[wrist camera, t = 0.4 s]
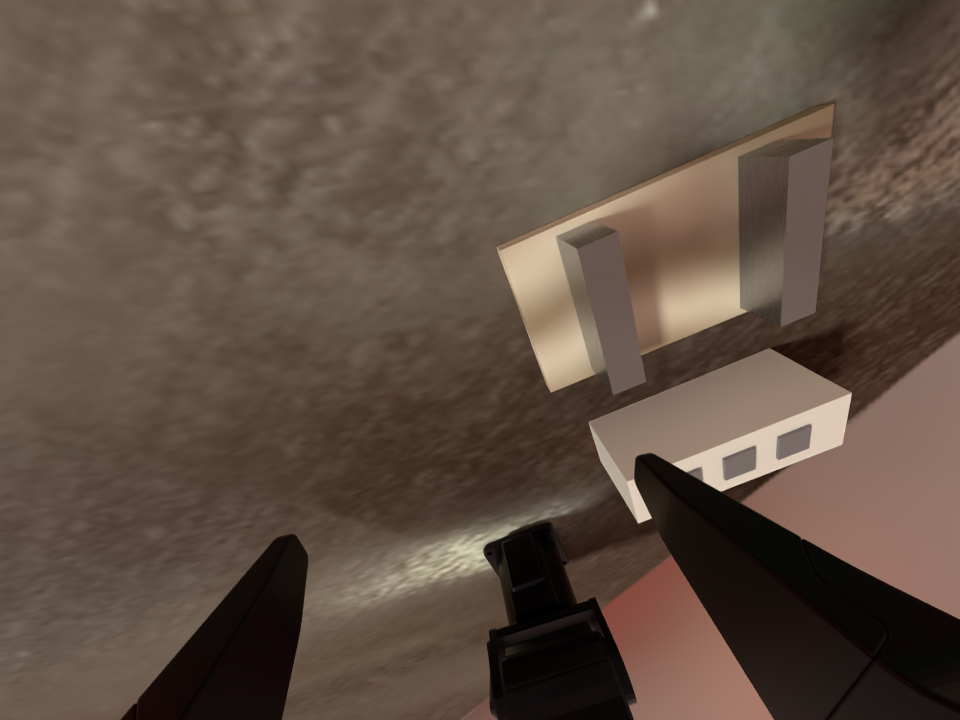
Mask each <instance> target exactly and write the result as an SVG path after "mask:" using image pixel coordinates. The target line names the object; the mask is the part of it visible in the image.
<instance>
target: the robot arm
mask: <svg viewBox="0 0 960 720" xmlns="http://www.w3.org/2000/svg"><path fill="white" fill-rule="evenodd" d="M634 481H635V484H636V487H637V489H638V491H639V493H640V495H641V497H642V499H643V501H644V503H645V505H646V507H647V509H648V511H649V513H650V515H651V517H652V520H653V522H654V524H655V526H656V528H657V530H658V532H659V534H660V536H661V538H662V540H663V541H664V543H665V545H666V546H667V548H668V550H669V551H670V553H671V555H672V556H673V558H674V559H675V561H676V562H677V564H678V566H679V567H680V569H681V571H682V572H683V574H684V576H685V577H686V579H687V580H688V582H689V583H690V585H691V587H692V588H693V590H694V591H695V593H696V595H697V596H698V598H699V599H700V601H701V603H702V604H703V606H704V608H705V609H706V611H707V612H708V614H709V616H710V617H711V619H712V621H713V622H714V624H715V625H716V627H717V629H718V630H719V632H720V633H721V635H722V637H723V638H724V640H725V641H726V643H727V645H728V646H729V648H730V649H731V651H732V653H733V654H734V656H735V658H736V659H737V661H738V662H739V664H740V666H741V667H742V669H743V670H744V672H745V674H746V675H747V677H748V678H749V680H750V682H751V683H752V685H753V686H754V688H755V690H756V691H757V693H758V694H759V696H760V698H761V699H762V701H763V703H764V704H765V706H766V707H767V709H768V711H769V712H770V714H771V715H772V717H773V718H774V720H960V619H958V618H956V617H954V616H952V615H950V614H948V613H946V612H944V611H942V610H939V609H938V608H935V607H933V606H931V605H929V604H927V603H925V602H923V601H921V600H919V599H917V598H915V597H913V596H911V595H909V594H907V593H905V592H903V591H901V590H899V589H897V588H895V587H893V586H891V585H889V584H887V583H885V582H883V581H881V580H879V579H877V578H875V577H873V576H871V575H869V574H867V573H865V572H863V571H861V570H859V569H858V568H856V567H854V566H852V565H850V564H848V563H846V562H845V561H843V560H841V559H839V558H837V557H836V556H834V555H832V554H830V553H828V552H826V551H825V550H823V549H821V548H819V547H818V546H816V545H814V544H812V543H810V542H809V541H807V540H805V539H801V537H799V536H798V535H796V534H794V533H793V532H791V531H789V530H787V529H786V528H784V527H782V526H780V525H779V524H777V523H775V522H773V521H771V520H770V519H768V518H766V517H764V516H763V515H761V514H759V513H757V512H756V511H754V510H752V509H750V508H749V507H747V506H745V505H743V504H742V503H740V502H738V501H736V500H735V499H733V498H731V497H729V496H728V495H726V494H724V493H722V492H721V491H719V490H717V489H715V488H714V487H712V486H710V485H708V484H706V483H705V482H703V481H701V480H699V479H698V478H696V477H694V476H692V475H691V474H689V473H687V472H685V471H684V470H682V469H680V468H678V467H677V466H675V465H673V464H671V463H670V462H668V461H666V460H664V459H663V458H661V457H659V456H657V455H655V454H653V453H646V454H641V455H638V456H637V457H636V458H635V469H634ZM483 552H484V556H485V557H486V559H487V560H488V562H489V563H490V564H491V566H492V567H493V569H494V570H495V572H496V573H497V575H498V576H499V578H500V581H501V586H502V591H503V596H504V601H505V606H506V612H507V617H508V622H509V626H505V627H502V628H499V629H496V628H494V629H491V630H489V636H490V641H489V642H488V643H487V650H488V657H489V665H490V710H491V714H492V715H493V716H494V717H495V718H496V719H497V720H634V719H633V716H632V713H631V711H630V708H629V705H632V704H636V703H637V701H636V697H635V693H634V690H633V687H632V684H631V681H630V679H629V676H628V673H627V670H626V668H625V665H624V662H623V660H622V658H621V655H620V653H619V650H618V648H617V645H616V643H615V641H614V639H613V637H612V634H611V632H610V630H609V628H608V626H607V623H606V621H605V619H604V616H603V614H602V612H601V610H600V607H599V605H598V603H597V601H596V598H595V597H593V598H590V599H588V601H585V602H582V603H579V604H577V601H576V598H575V596H574V593H573V590H572V587H571V584H570V582H569V579H568V576H567V573H566V570H565V568H564V566H565V565H567V564H568V563H569V561H568V558H567V556H566V554H565V552H564V549H563V547H562V545H561V543H560V541H559V539H558V537H557V535H556V533H555V530H554V528H553V526H552V524H551V523H545V524H542V525H539V526H537V527H534V528H532V529H529V530H527V531H524V532H522V533H519V534H516V535H514V536H511V537H509V538H506V539H504V540H501V541H499V542H496V543H493V544H491V545H488V546H486V547H485V548H484V549H483ZM307 569H308V555H307V552H306V551H305V549H304V547H303V546H302V544H301V543H300V541H299V539H298V538H297V536H296V535H294V534H289V535H285V536H280V537H278V538H276V539H275V540H274V541H273V542H272V543H271V544H270V545H269V547H268V548H267V549H266V550H265V551H264V553H263V554H262V555H261V556H260V557H259V558H258V560H257V561H256V562H255V563H254V564H253V565H252V567H251V568H250V569H249V570H248V571H247V572H246V574H245V575H244V576H243V577H242V578H241V579H240V581H239V582H238V583H237V584H236V585H235V586H234V588H233V589H232V590H231V591H230V592H229V593H228V595H227V596H226V597H225V598H224V599H223V600H222V602H221V603H220V604H219V605H218V606H217V608H216V609H215V610H214V611H213V612H212V613H211V615H210V616H209V617H208V618H207V619H206V620H205V622H204V623H203V624H202V625H201V626H200V627H199V629H198V630H197V631H196V632H195V633H194V634H193V636H192V637H191V638H190V639H189V640H188V641H187V643H186V644H185V645H184V646H183V647H182V648H181V650H180V651H179V652H178V653H177V654H176V655H175V657H174V658H173V659H172V660H171V661H170V662H169V664H168V665H167V666H166V667H165V668H164V670H163V671H162V672H161V673H160V674H159V675H158V677H157V678H156V679H155V680H154V681H153V682H152V684H151V685H150V686H149V687H148V688H147V689H146V691H145V692H144V693H143V694H142V695H141V696H140V698H139V699H138V701H137V703H136V704H134V705H133V706H132V707H131V708H130V709H129V710H128V711H127V713H126V714H125V715H124V716H123V717H122V718H121V720H282V716H283V711H284V706H285V702H286V697H287V692H288V687H289V683H290V678H291V673H292V668H293V664H294V659H295V654H296V649H297V644H298V640H299V634H300V629H301V622H302V615H303V605H304V596H305V587H306V578H307Z"/></svg>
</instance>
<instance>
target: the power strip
mask: <svg viewBox="0 0 960 720" xmlns="http://www.w3.org/2000/svg"><path fill="white" fill-rule="evenodd" d="M851 395H852V393H851V392H849V391H847V390H845V389H844V388H842V387H840V386H838V385H836V384H834V383H833V382H831V381H829V380H827V379H825V378H823V377H822V376H820V375H818V374H816V373H814V372H812V371H811V370H809V369H807V368H805V367H803V366H801V365H799V364H798V363H796V362H794V361H792V360H790V359H788V358H787V357H785V356H783V355H781V354H779V353H777V352H776V351H774V350H772V349H770V348H769V349H766V350H764V351H761V352H759V353H757V354H754V355H752V356H749V357H747V358H744V359H742V360H739V361H737V362H734V363H732V364H730V365H727V366H725V367H722V368H720V369H717V370H715V371H712V372H710V373H707V374H705V375H703V376H700V377H698V378H695V379H693V380H690V381H688V382H685V383H683V384H680V385H678V386H676V387H673V388H671V389H668V390H666V391H663V392H661V393H658V394H656V395H653V396H651V397H649V398H646V399H644V400H641V401H639V402H636V403H634V404H631V405H629V406H626V407H624V408H622V409H619V410H617V411H614V412H612V413H609V414H607V415H604V416H602V417H599V418H597V419H595V420H592V421H590V422H589V425H590V429H591V432H592V435H593V438H594V441H595V445H596V448H597V451H598V454H599V457H600V461H601V462H602V464H603V466H604V467H605V469H606V471H607V472H608V474H609V476H610V477H611V479H612V481H613V482H614V484H615V486H616V487H617V489H618V491H619V492H620V494H621V496H622V497H623V499H624V501H625V502H626V504H627V506H628V507H629V509H630V511H631V512H632V514H633V516H634V517H635V519H636V521H637V522H638V523H641V522H643V521H646V520H649V519H651V518H652V517H651V515H650V513H649V511H648V509H647V507H646V505H645V503H644V501H643V499H642V497H641V495H640V493H639V491H638V489H637V487H636V484H635V481H634V469H635V458H636V457H637V456H638V455H641V454H646V453H653V454H655V455H657V456H659V457H661V458H663V459H664V460H666V461H668V462H670V463H671V464H673V465H675V466H677V467H678V468H680V469H682V470H684V471H685V472H687V473H689V474H691V475H692V476H694V477H696V478H698V479H699V480H701V481H703V482H705V483H706V484H708V485H710V486H712V487H714V488H715V489H717V490H719V491H724V490H726V489H729V488H731V487H734V486H736V485H739V484H742V483H744V482H747V481H749V480H752V479H755V478H757V477H760V476H762V475H765V474H767V473H770V472H773V471H775V470H778V469H780V468H783V467H786V466H788V465H791V464H793V463H796V462H798V461H801V460H804V459H806V458H809V457H811V456H814V455H817V454H819V453H822V452H824V451H827V450H830V449H832V448H835V447H837V446H839V445H842V444H843V438H844V433H845V428H846V422H847V417H848V411H849V406H850V401H851Z"/></svg>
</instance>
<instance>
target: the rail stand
mask: <svg viewBox="0 0 960 720" xmlns="http://www.w3.org/2000/svg"><path fill="white" fill-rule="evenodd" d="M833 114H834V104H827V105H819V106H814V107H812V108H810V109H808V110H805V111H803V112H801V113H799V114H796V115H794V116H792V117H789V118H787V119H785V120H783V121H780V122H778V123H776V124H774V125H771V126H769V127H767V128H765V129H762V130H760V131H758V132H755V133H753V134H751V135H749V136H746V137H744V138H742V139H740V140H737V141H735V142H733V143H730V144H728V145H726V146H724V147H721V148H719V149H717V150H715V151H712V152H710V153H708V154H706V155H703V156H701V157H699V158H696V159H694V160H692V161H690V162H687V163H685V164H683V165H681V166H678V167H676V168H674V169H672V170H669V171H667V172H665V173H662V174H660V175H658V176H656V177H653V178H651V179H649V180H647V181H644V182H642V183H640V184H637V185H635V186H633V187H631V188H628V189H626V190H624V191H622V192H619V193H617V194H615V195H613V196H610V197H608V198H606V199H603V200H601V201H599V202H597V203H594V204H592V205H590V206H588V207H585V208H583V209H581V210H578V211H576V212H574V213H572V214H569V215H567V216H565V217H563V218H560V219H558V220H556V221H554V222H551V223H549V224H547V225H544V226H542V227H540V228H538V229H535V230H533V231H531V232H529V233H526V234H524V235H522V236H520V237H517V238H515V239H513V240H510V241H508V242H506V243H504V244H501V245H499V246H497V247H496V248H497V250H498V253H499V256H500V259H501V261H502V264H503V267H504V270H505V272H506V275H507V278H508V281H509V283H510V286H511V289H512V292H513V294H514V297H515V300H516V303H517V305H518V308H519V311H520V314H521V316H522V319H523V322H524V325H525V327H526V330H527V333H528V336H529V338H530V341H531V344H532V347H533V349H534V352H535V355H536V358H537V360H538V363H539V366H540V369H541V371H542V374H543V377H544V380H545V382H546V385H547V387H548V388H549V390H550V392H553V391H556V390H558V389H561V388H563V387H566V386H568V385H570V384H573V383H575V382H578V381H580V380H583V379H585V378H587V377H590V376H592V375H595V374H596V375H597V376H598V377H599V378H600V380H601V381H602V382H603V383H604V384H605V386H606V387H607V388H608V389H609V390H610V392H611V393H612V394H613V395H615V394H617V393H620V392H622V391H624V390H627V389H629V388H632V387H634V386H637V385H639V384H642V383H644V382H646V379H645V374H644V368H643V363H642V357H641V355H643V354H646V353H648V352H650V351H653V350H655V349H658V348H660V347H663V346H665V345H667V344H670V343H672V342H675V341H677V340H680V339H682V338H684V337H687V336H689V335H692V334H694V333H697V332H699V331H701V330H704V329H706V328H709V327H711V326H714V325H716V324H718V323H721V322H723V321H726V320H728V319H730V318H733V317H735V316H738V315H740V314H743V313H745V312H747V311H748V312H750V313H752V314H754V315H756V316H759V317H761V318H763V319H765V320H767V321H769V322H771V323H773V324H776V325H778V326H780V327H781V326H784V325H786V324H789V323H791V322H794V321H796V320H799V319H801V318H804V317H806V316H808V315H811V314H813V313H815V310H816V300H817V291H818V281H819V272H820V262H821V253H822V244H823V234H824V225H825V215H826V206H827V196H828V187H829V177H830V168H831V159H832V149H833V140H834V138H831V134H832V124H833Z"/></svg>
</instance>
